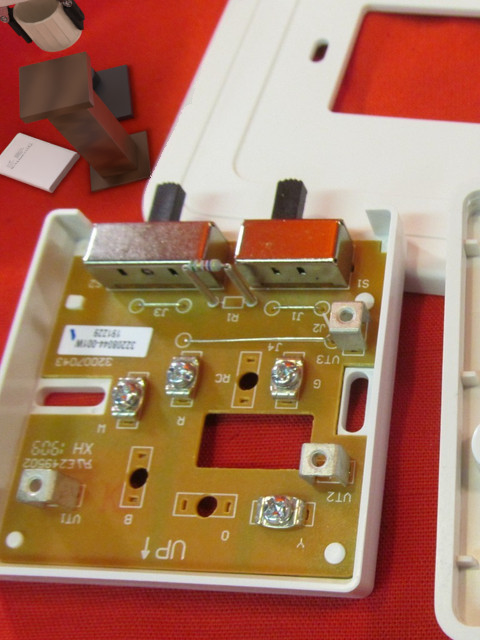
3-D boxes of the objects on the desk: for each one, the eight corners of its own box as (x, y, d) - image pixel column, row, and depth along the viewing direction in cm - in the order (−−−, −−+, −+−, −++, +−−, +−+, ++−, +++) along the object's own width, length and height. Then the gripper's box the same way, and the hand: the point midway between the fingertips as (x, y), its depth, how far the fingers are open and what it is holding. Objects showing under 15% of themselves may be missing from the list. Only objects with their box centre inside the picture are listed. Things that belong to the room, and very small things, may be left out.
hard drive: (54, 195, 115) (-4, 173, 117) (82, 158, 118) (25, 137, 120) (48, 189, 113) (-12, 167, 116) (76, 151, 116) (18, 131, 118)
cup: (36, 57, 105) (13, 30, 101) (35, 23, 108) (12, -5, 103) (83, 45, 106) (62, 17, 101) (81, 12, 108) (60, -16, 104)
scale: (73, 135, 119) (62, 123, 117) (70, 81, 124) (59, 68, 121) (135, 119, 120) (126, 107, 117) (130, 66, 125) (121, 53, 122)
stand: (94, 194, 115) (19, 118, 98) (91, 148, 118) (18, 67, 101) (153, 179, 115) (89, 100, 98) (148, 134, 119) (85, 51, 102)
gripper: (31, -116, 91) (109, -1, 108) (-99, -84, 91) (0, 27, 107) (33, -79, 89) (112, 33, 105) (-102, -47, 88) (0, 62, 104)
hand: (55, 29), depth 106 cm, fingers closed on cup, 7 cm apart
